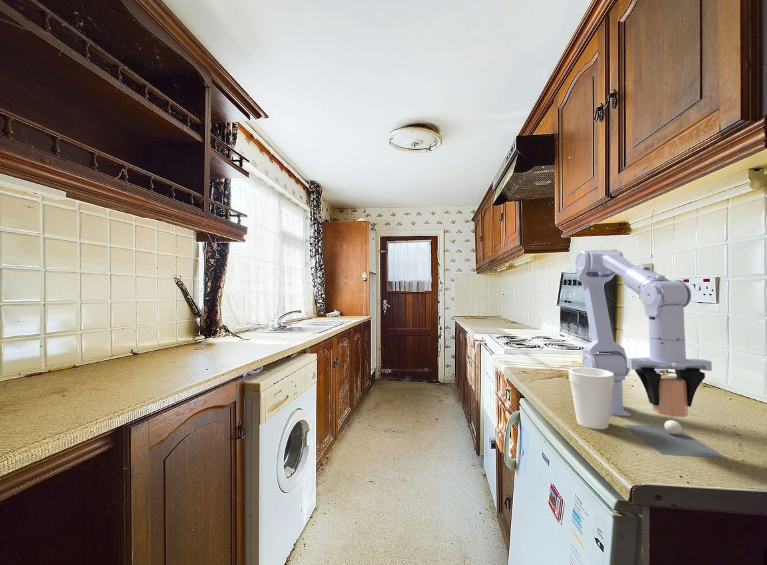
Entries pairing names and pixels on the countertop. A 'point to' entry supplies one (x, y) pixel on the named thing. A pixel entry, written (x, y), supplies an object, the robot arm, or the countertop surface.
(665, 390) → the salmon pink faceted cylinder
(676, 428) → the marble
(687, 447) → the mat
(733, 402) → the countertop surface
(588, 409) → the foam cup
